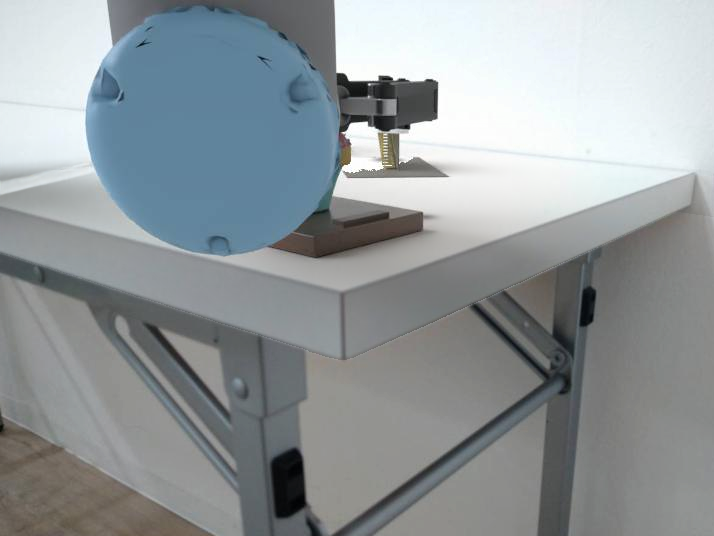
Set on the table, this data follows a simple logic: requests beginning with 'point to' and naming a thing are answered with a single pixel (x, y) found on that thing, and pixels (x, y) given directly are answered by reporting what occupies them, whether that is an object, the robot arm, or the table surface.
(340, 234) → the cutting board
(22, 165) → the table surface
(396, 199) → the table surface
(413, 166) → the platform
